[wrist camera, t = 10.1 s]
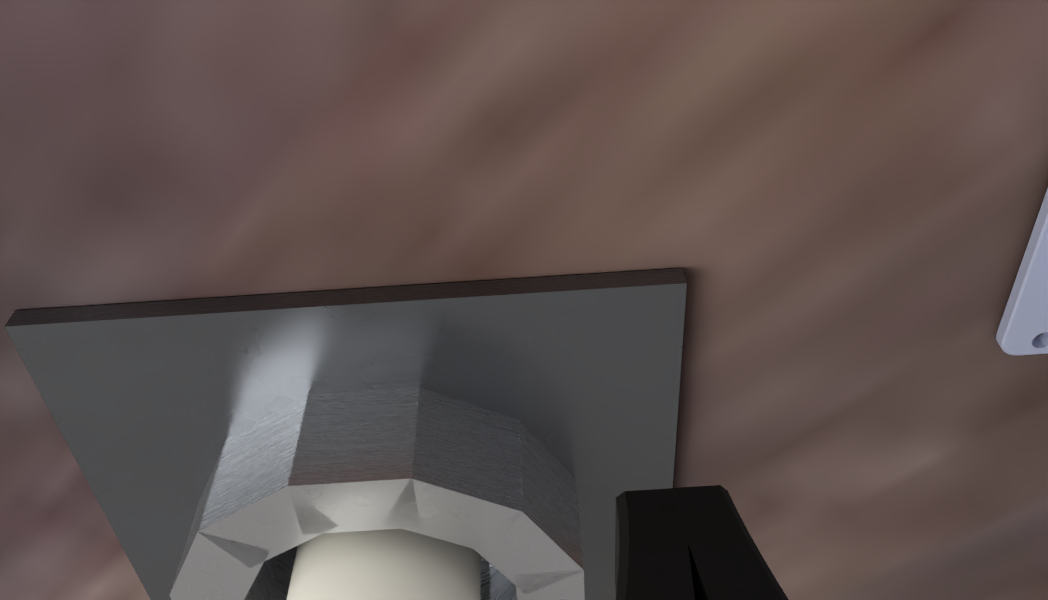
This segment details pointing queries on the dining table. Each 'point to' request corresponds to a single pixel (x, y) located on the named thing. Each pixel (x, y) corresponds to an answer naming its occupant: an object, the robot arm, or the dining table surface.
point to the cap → (384, 568)
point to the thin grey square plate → (370, 423)
